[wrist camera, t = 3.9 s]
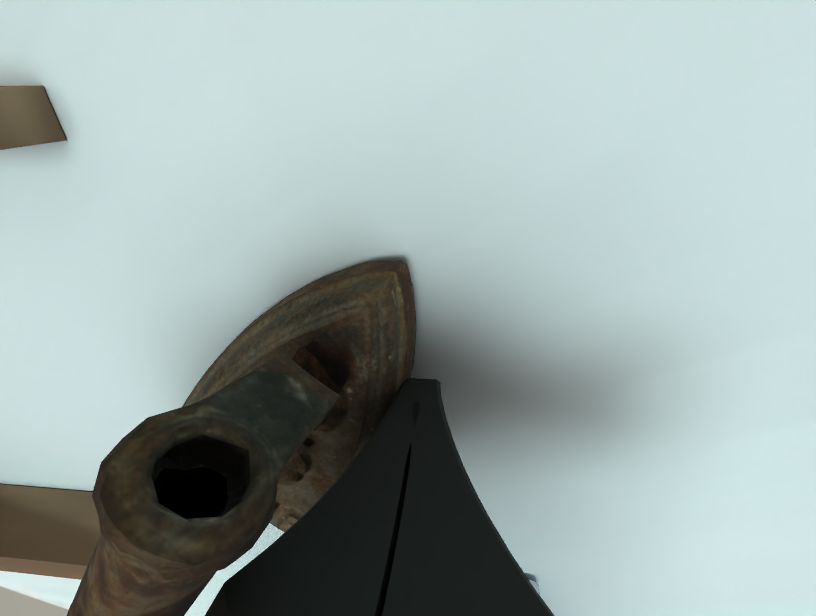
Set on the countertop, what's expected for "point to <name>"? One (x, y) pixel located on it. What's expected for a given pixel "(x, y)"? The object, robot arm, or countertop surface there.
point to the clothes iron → (249, 441)
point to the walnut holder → (32, 506)
